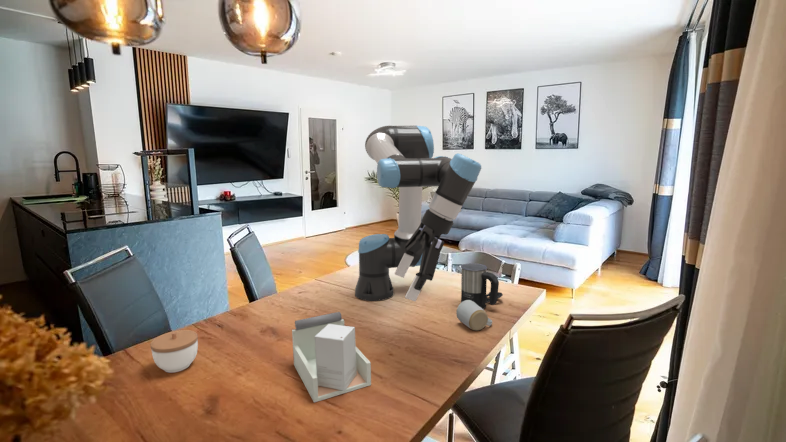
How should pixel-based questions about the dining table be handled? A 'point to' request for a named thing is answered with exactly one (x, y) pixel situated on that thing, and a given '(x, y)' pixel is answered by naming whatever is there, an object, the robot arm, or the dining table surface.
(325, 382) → the supplement box
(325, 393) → the tray
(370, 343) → the dining table surface
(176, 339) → the lidded jar
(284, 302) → the dining table surface
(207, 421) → the dining table surface
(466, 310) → the ceramic mug
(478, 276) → the milk frother
